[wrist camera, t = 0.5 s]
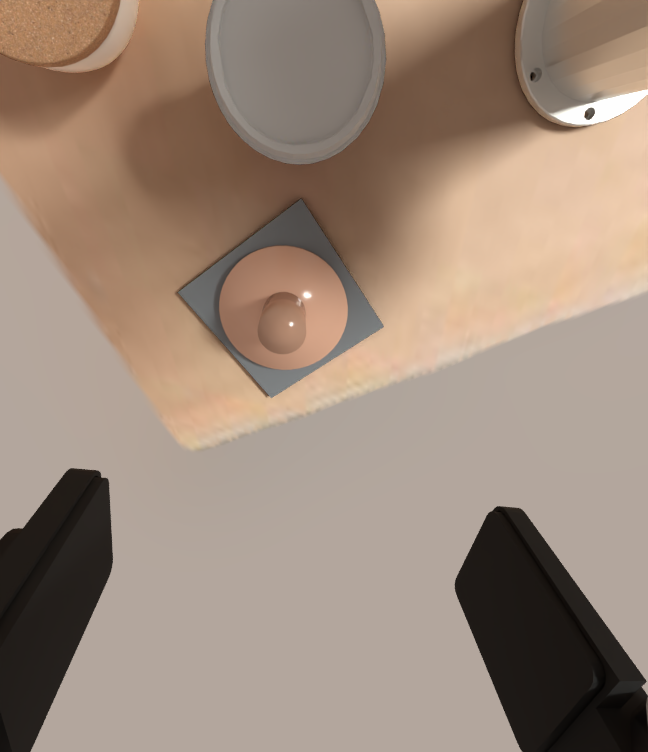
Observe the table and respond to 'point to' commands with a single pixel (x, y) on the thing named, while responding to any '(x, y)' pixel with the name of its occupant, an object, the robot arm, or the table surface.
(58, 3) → the lidded jar
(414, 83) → the table surface
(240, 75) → the disposable coffee cup
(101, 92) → the table surface
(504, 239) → the table surface
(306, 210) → the mat
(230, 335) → the lid
